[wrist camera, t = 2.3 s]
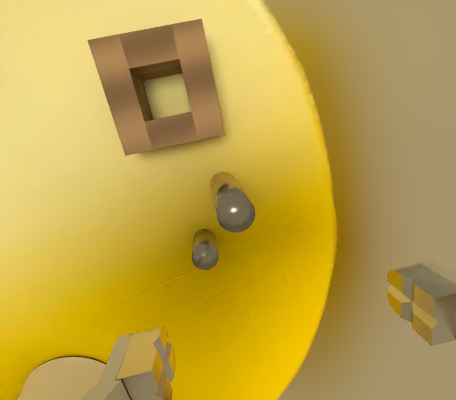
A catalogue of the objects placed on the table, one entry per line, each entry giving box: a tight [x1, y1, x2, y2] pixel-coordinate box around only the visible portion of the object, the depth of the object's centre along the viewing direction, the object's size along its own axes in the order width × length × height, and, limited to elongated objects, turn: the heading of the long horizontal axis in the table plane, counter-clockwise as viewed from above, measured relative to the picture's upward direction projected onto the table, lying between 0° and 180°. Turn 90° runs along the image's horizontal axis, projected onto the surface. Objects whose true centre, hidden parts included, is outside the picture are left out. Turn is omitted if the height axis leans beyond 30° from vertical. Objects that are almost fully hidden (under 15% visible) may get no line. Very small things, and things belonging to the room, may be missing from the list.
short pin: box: [192, 229, 218, 270], centre depth 29 cm, size 3×3×5 cm
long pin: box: [211, 172, 255, 233], centre depth 24 cm, size 3×3×12 cm
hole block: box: [88, 19, 225, 156], centre depth 24 cm, size 10×10×5 cm
